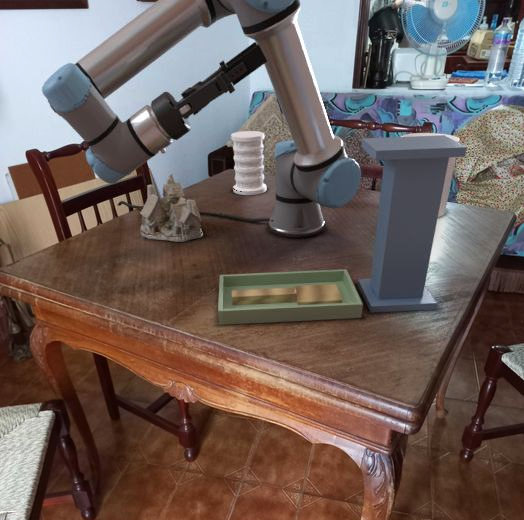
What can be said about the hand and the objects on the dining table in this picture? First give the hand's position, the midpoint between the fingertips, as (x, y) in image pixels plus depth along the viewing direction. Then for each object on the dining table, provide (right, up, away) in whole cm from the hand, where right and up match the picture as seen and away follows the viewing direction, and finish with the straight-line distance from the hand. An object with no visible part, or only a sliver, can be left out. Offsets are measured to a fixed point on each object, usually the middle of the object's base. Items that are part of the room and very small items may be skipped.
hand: (261, 50), depth 81 cm
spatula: (+5, -41, +16) cm, 44 cm away
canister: (+47, -9, +62) cm, 78 cm away
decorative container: (-4, +4, +83) cm, 83 cm away
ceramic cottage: (-25, -19, +51) cm, 60 cm away
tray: (+5, -41, +17) cm, 45 cm away
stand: (+26, -40, +17) cm, 51 cm away
